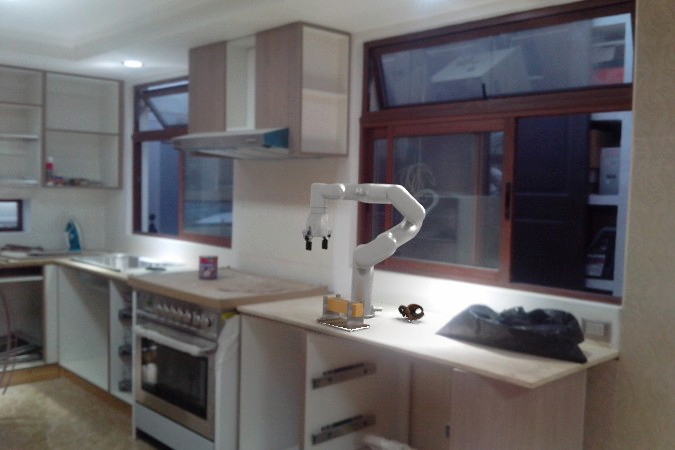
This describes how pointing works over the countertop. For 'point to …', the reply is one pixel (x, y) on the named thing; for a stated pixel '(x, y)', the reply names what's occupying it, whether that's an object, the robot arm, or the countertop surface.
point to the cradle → (335, 320)
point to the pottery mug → (411, 311)
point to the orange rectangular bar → (344, 306)
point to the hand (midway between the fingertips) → (316, 249)
